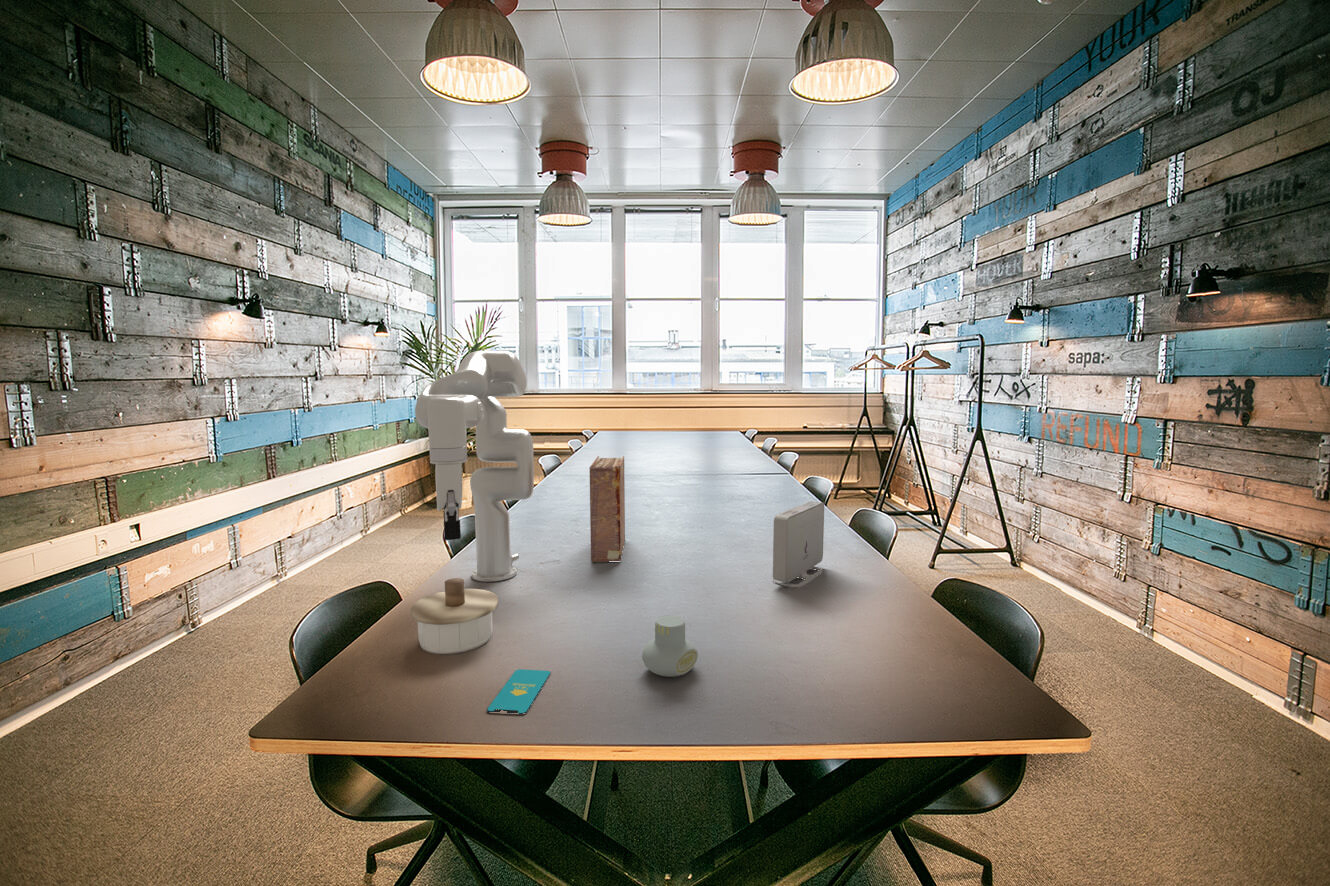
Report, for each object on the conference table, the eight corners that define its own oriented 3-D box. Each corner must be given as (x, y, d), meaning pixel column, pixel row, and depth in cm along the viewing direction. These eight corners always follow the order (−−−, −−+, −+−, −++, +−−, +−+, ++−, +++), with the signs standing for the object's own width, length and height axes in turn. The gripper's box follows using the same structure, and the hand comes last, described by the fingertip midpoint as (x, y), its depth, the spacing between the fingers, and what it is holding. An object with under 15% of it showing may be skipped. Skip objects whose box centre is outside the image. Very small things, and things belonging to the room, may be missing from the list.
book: (599, 540, 209) (597, 456, 205) (625, 540, 209) (624, 455, 206) (590, 563, 184) (589, 467, 180) (620, 563, 184) (619, 467, 180)
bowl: (452, 620, 141) (450, 591, 140) (505, 629, 136) (504, 600, 135) (404, 647, 127) (402, 615, 126) (461, 658, 122) (460, 626, 121)
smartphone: (552, 670, 116) (525, 712, 101) (552, 674, 116) (526, 717, 101) (516, 668, 117) (484, 710, 102) (516, 672, 117) (485, 715, 102)
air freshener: (671, 653, 124) (671, 607, 123) (703, 666, 119) (703, 617, 117) (635, 673, 115) (635, 624, 114) (668, 688, 110) (668, 636, 109)
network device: (792, 592, 158) (794, 519, 156) (763, 585, 164) (764, 514, 161) (829, 567, 178) (831, 502, 176) (802, 562, 184) (804, 498, 182)
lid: (450, 588, 142) (449, 564, 141) (514, 598, 136) (513, 573, 135) (391, 617, 125) (390, 590, 125) (461, 630, 119) (460, 601, 118)
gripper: (430, 450, 133) (434, 525, 135) (429, 461, 117) (433, 546, 119) (465, 449, 136) (468, 522, 138) (469, 459, 120) (472, 542, 122)
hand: (452, 533), depth 129 cm, fingers open, 9 cm apart
